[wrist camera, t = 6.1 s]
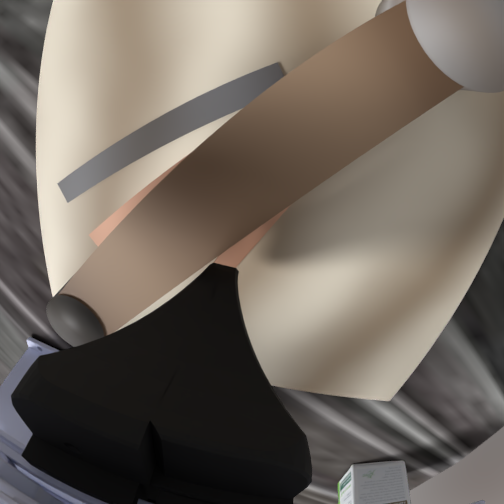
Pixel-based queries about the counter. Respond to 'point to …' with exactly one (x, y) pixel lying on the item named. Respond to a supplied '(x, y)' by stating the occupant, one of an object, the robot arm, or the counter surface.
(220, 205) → the lever
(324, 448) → the counter surface
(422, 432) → the counter surface
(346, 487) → the syrup box
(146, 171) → the board
